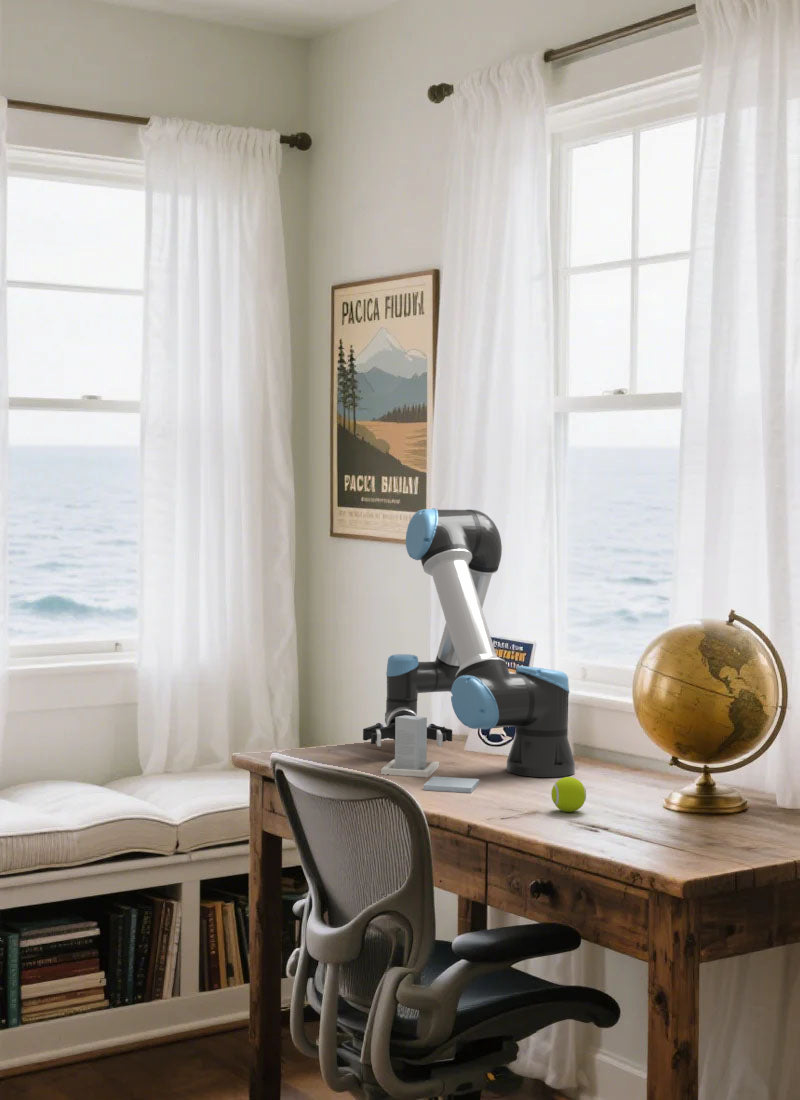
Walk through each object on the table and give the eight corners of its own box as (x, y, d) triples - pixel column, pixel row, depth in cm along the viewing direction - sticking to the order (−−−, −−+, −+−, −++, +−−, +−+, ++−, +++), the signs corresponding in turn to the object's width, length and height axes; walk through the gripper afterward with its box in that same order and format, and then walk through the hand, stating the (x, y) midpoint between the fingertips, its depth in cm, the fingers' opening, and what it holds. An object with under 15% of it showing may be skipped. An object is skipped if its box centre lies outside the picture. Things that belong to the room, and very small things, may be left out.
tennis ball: (547, 808, 274) (547, 774, 274) (580, 807, 275) (580, 773, 275) (556, 815, 267) (557, 780, 267) (590, 815, 268) (590, 780, 268)
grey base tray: (438, 767, 315) (438, 761, 315) (428, 777, 303) (428, 771, 303) (393, 764, 318) (393, 759, 318) (380, 774, 305) (381, 768, 305)
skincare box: (427, 771, 311) (428, 717, 310) (417, 773, 307) (418, 719, 307) (403, 767, 314) (404, 714, 313) (393, 770, 310) (394, 716, 310)
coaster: (479, 783, 297) (479, 779, 297) (471, 792, 287) (471, 788, 287) (432, 780, 299) (432, 776, 299) (423, 789, 289) (423, 785, 289)
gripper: (456, 741, 331) (465, 757, 310) (350, 741, 330) (353, 757, 308) (456, 710, 331) (466, 724, 310) (351, 709, 329) (353, 723, 308)
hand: (410, 740), depth 309 cm, fingers open, 13 cm apart
